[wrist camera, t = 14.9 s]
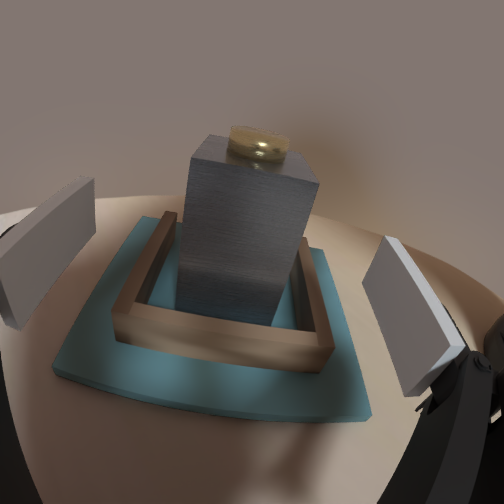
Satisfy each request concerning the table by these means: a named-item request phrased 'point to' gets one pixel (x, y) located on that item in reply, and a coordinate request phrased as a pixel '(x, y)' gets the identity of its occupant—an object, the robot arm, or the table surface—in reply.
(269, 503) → the table surface
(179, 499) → the table surface
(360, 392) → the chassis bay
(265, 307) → the grey block with knob
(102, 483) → the table surface
